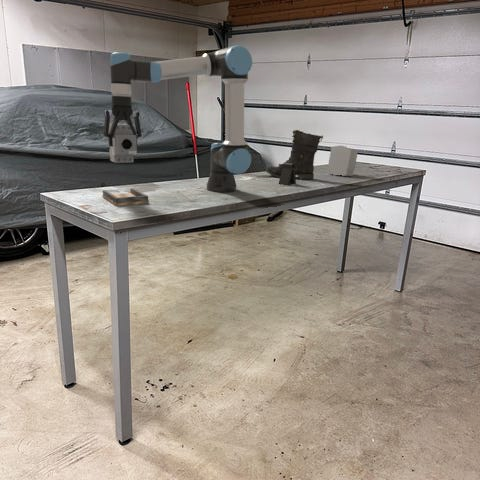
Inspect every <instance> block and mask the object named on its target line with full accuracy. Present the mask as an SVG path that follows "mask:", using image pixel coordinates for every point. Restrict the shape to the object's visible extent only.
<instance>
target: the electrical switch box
mask: <svg viewBox="0 0 480 480" xmlns="http://www.w3.org/2000/svg"><path fill="white" fill-rule="evenodd" d="M357 159H358V150H357V149H354V148H350V147H347V146H344V145H335V146H331V148H330V153H329V160H328V165H327V170H326V173H328V174H329V175H332V174H335V175H342V176H341V177H344V176H346V177H351V176H350V175H352V176H353V175H354V173H355V169H356V168H355V167H356V163H357Z"/></svg>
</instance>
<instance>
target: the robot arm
mask: <svg viewBox="0 0 480 480" xmlns="http://www.w3.org/2000/svg"><path fill="white" fill-rule="evenodd" d="M109 59H110V60H109V61H110V64H109V66H110V67H109V69H110V88H111V89H110V90H111V95H112V96H111V109H110V110H109V109H108V110H104V126H103V136H104V137H106V138H107V139H108V146H109V147H110V146H111V151H112V155H116V154H115V139H114V138H113V136H114V133H115V130H116V127H117V124H119V123H120V121H125V123H126V124H128V125H130V127H131V130H132V132H133V135H136V142H137V143H138V139H139V138H141V137H142V128H141V124H140V114H141V113H140V112H139V111H134V110H133V105H132V103H133V102H132V97H131V96H132V83H136V84H142V83H160V82H161V81H162V80H163V81H164V80H170V79H180V78H187V77H188V78H189V77H195V76H204V75H205V76H206V77H220V78H221V82H222V83H224V115H225V116H224V117H225V120H224V125H225V126H224V127H225V129H224V131H225V139H224V141H223V142H214V143H212V144H211V145H210V146H211V147H210V172H209V173H210V174H209V177H208V180H207V182H206V190H207V191H210V192H218V193H231V192H232V193H233V192H236V191H237V187H238V186H237V182H236V178H235V174H236V175H237V174H238V175H239V174H243V173H245V172H246V171H248V169H249V168H250V167H251V164H252V154H251V153H250V151H248V142H247V141H246V140H245V83H247V82H248V80H249V72H250V71H251V69H252V66H253V56H252V54H251V52H250V51H249V50H248V48H247V47H245V46H243V45H231V46H228V47H225V48H221V49H218V50H215V51H212V52H207V53H206V52H205V53H204V54H202V55H201V56H194V57H193V56H192V57H186V58H175V59H168V60H158V61H149V60H148V61H147V60H134V59H132V58H131V55H130V54H129V53H127V52H116V51H115V52H112V53H111V54H110V55H109ZM111 115H113V117H114V118H113V121H112V123H111V117H112V116H111ZM131 116H132V117H133V120H134V124H133V122H132V119H131ZM109 124H112V126H111V129H110V132H109ZM134 126H135V127H134ZM134 155H135V156H136V154H133V156H134Z"/></svg>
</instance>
